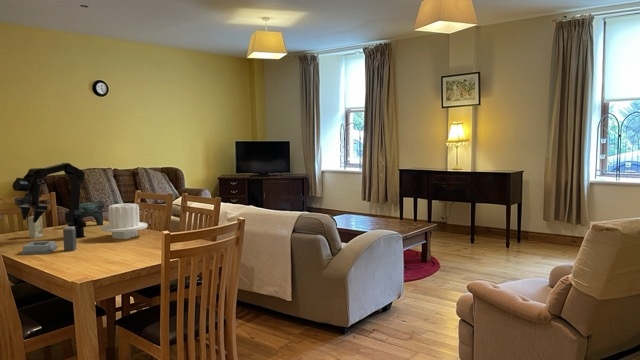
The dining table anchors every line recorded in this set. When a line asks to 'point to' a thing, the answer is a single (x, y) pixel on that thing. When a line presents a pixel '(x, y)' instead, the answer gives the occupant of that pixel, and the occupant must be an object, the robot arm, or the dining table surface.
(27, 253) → the socket holder
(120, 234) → the ribbed cylinder on disc
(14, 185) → the robot arm
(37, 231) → the skincare box
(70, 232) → the dark gray plug block
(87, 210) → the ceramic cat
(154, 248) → the dining table surface
